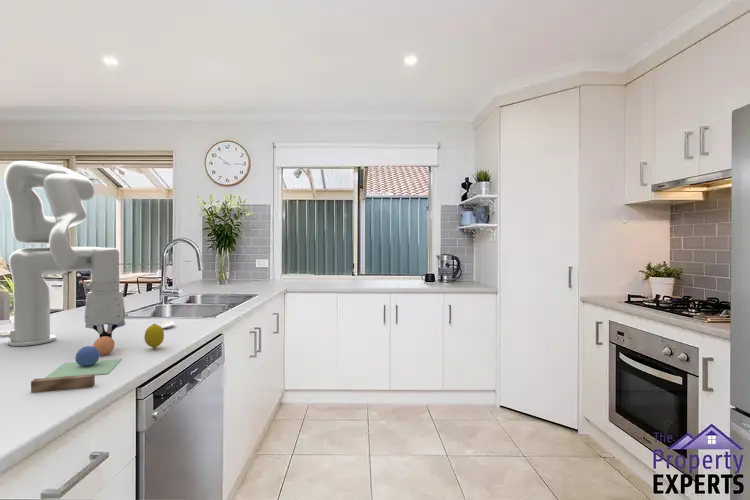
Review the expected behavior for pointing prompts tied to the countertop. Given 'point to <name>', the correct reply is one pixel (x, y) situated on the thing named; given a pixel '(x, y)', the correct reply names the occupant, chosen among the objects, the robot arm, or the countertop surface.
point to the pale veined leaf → (165, 323)
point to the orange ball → (104, 345)
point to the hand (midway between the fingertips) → (105, 345)
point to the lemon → (154, 336)
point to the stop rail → (62, 383)
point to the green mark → (84, 368)
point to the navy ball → (87, 356)
